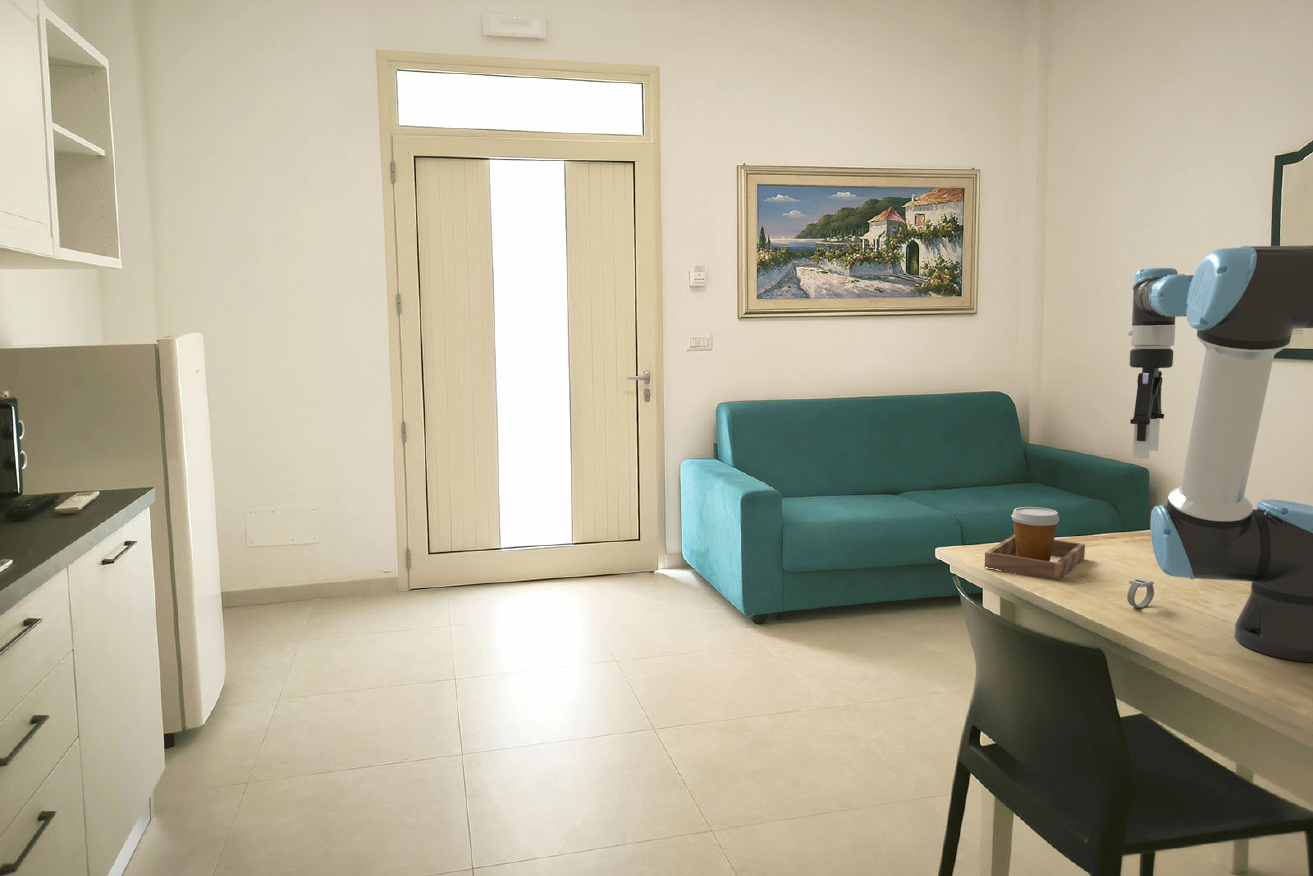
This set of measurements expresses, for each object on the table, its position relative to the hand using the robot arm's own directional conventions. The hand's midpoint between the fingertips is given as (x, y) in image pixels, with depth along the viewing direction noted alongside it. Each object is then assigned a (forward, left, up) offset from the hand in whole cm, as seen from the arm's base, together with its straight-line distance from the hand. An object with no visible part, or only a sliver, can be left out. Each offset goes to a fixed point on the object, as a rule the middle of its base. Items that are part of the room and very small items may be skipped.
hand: (1145, 454), depth 178 cm
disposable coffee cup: (-4, +19, -26) cm, 32 cm away
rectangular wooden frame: (-2, +19, -26) cm, 32 cm away
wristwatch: (-20, -4, -26) cm, 33 cm away
